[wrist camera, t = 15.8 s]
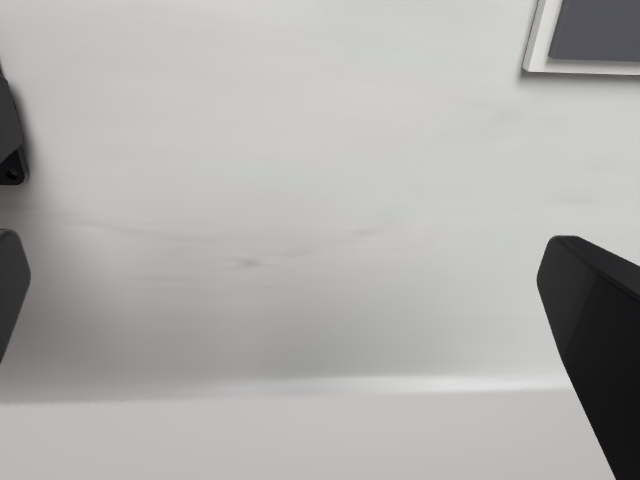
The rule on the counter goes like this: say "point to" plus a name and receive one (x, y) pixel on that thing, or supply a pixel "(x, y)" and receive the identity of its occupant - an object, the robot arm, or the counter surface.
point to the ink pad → (585, 37)
